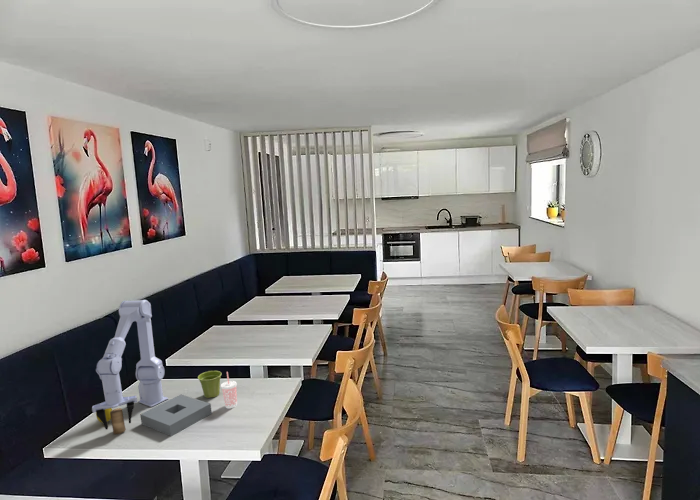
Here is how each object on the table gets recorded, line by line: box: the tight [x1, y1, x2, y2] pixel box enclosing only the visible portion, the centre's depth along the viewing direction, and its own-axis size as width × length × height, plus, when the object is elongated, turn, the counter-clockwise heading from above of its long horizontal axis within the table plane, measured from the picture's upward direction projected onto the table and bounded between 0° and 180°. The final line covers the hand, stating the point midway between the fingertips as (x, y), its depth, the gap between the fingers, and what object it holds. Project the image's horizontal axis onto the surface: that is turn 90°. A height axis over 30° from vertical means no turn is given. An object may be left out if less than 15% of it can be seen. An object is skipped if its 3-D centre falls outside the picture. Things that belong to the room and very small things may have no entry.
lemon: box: [95, 408, 113, 423], centre depth 184 cm, size 6×6×8 cm
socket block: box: [140, 394, 213, 437], centre depth 183 cm, size 18×18×4 cm
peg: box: [110, 407, 126, 435], centre depth 177 cm, size 4×4×8 cm
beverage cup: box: [220, 371, 238, 409], centre depth 190 cm, size 6×6×14 cm
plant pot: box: [197, 370, 222, 399], centre depth 201 cm, size 9×9×9 cm
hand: (118, 425), depth 177 cm, fingers open, 7 cm apart
